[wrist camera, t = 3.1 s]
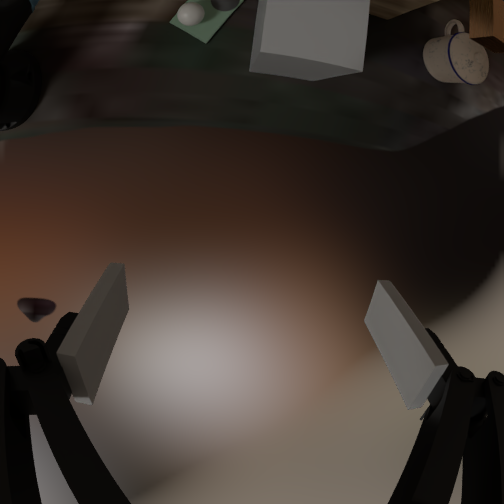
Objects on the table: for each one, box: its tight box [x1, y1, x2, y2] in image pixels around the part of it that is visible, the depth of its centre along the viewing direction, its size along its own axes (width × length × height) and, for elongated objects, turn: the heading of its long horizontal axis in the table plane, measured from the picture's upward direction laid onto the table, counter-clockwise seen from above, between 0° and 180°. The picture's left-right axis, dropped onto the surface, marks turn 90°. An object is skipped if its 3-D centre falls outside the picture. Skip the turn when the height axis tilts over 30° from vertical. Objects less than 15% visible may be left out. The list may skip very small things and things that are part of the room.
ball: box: [177, 2, 205, 26], centre depth 37 cm, size 4×4×4 cm
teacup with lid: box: [423, 19, 489, 85], centre depth 37 cm, size 12×9×12 cm
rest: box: [249, 0, 370, 81], centre depth 33 cm, size 12×10×20 cm
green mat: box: [170, 0, 244, 44], centre depth 38 cm, size 7×10×1 cm
